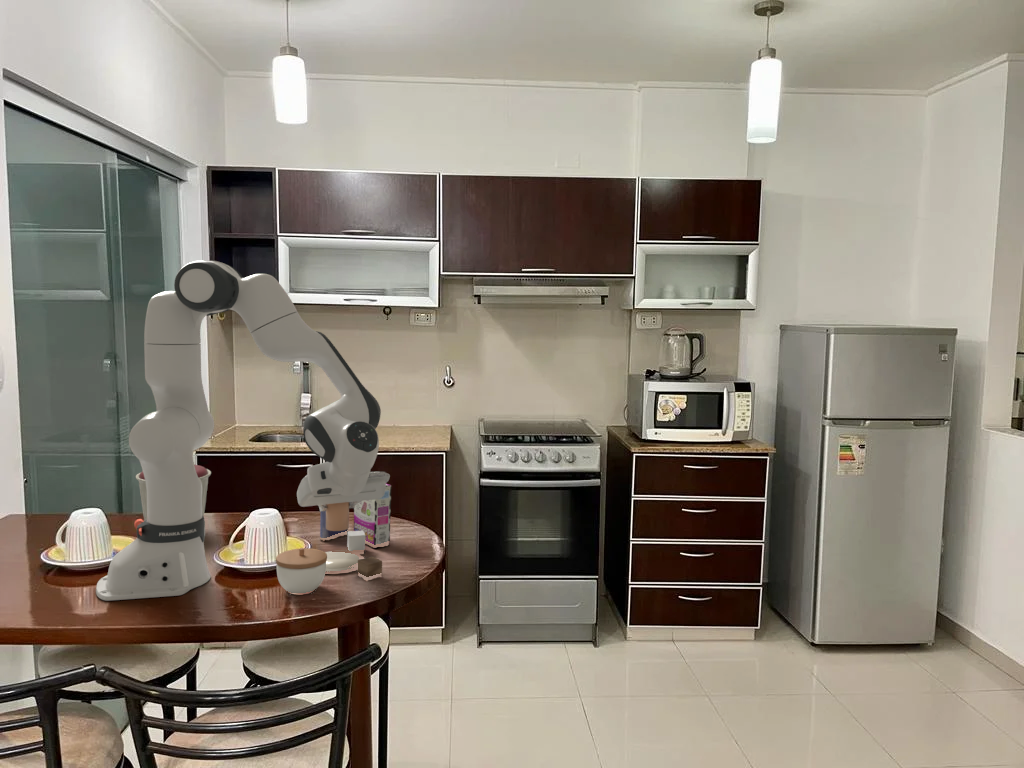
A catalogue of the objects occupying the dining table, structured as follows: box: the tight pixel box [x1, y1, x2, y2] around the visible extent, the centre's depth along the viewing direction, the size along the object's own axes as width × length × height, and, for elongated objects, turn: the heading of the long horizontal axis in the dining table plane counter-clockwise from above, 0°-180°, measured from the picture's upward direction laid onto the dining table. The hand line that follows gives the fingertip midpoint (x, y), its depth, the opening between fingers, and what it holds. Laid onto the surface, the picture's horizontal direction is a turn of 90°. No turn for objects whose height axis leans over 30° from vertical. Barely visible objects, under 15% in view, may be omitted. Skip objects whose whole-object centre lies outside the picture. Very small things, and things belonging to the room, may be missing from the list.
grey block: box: [346, 530, 366, 551], centre depth 185 cm, size 4×4×5 cm
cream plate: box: [324, 550, 360, 572], centre depth 175 cm, size 14×14×1 cm
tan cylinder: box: [326, 502, 350, 531], centre depth 174 cm, size 5×5×10 cm
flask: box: [319, 511, 349, 538], centre depth 196 cm, size 9×3×11 cm, turn 146°
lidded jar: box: [275, 547, 327, 593], centre depth 158 cm, size 11×11×9 cm
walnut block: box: [357, 556, 383, 577], centre depth 168 cm, size 4×4×4 cm
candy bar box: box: [353, 483, 392, 545], centre depth 192 cm, size 11×5×16 cm, turn 42°
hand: (336, 507), depth 175 cm, fingers closed on tan cylinder, 5 cm apart
